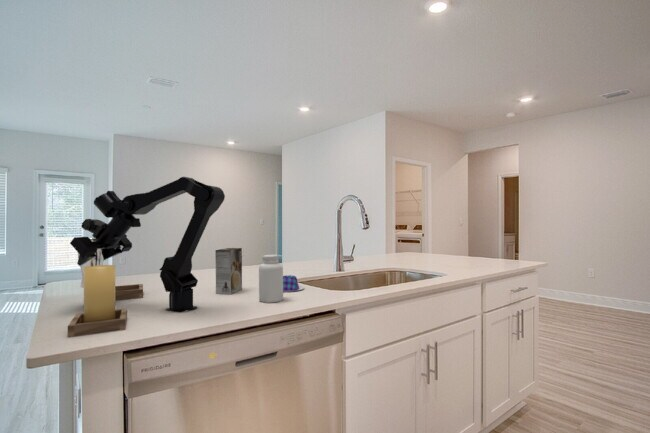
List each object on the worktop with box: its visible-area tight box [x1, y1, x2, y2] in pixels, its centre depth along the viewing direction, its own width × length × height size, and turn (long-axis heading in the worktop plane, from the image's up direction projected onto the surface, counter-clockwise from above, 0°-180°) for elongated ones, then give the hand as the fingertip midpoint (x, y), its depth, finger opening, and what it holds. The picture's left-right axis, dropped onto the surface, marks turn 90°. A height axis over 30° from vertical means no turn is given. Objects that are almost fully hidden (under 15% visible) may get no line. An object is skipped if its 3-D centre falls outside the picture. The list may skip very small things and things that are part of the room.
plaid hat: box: [283, 274, 305, 293], centre depth 132 cm, size 12×12×5 cm
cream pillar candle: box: [83, 264, 116, 323], centre depth 86 cm, size 7×7×15 cm
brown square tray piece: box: [67, 308, 128, 338], centre depth 86 cm, size 11×11×3 cm
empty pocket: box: [115, 283, 144, 301], centre depth 121 cm, size 11×11×3 cm
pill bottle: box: [258, 254, 284, 304], centre depth 114 cm, size 8×8×15 cm
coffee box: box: [215, 247, 243, 295], centre depth 128 cm, size 9×6×16 cm
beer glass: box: [77, 237, 105, 289], centre depth 109 cm, size 7×7×15 cm
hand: (88, 263), depth 109 cm, fingers closed on beer glass, 6 cm apart
